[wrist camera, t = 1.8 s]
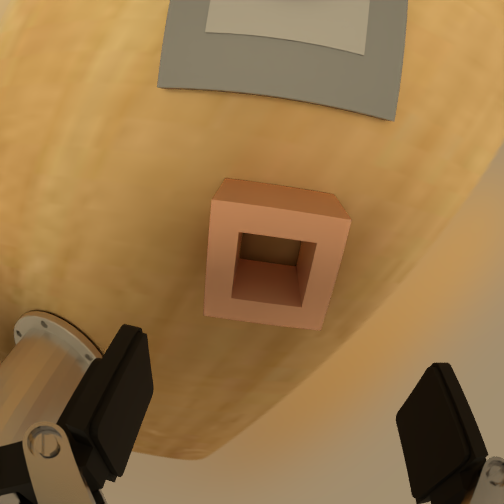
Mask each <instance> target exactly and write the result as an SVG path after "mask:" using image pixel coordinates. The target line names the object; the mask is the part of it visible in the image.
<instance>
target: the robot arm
mask: <svg viewBox="0 0 504 504" xmlns="http://www.w3.org/2000/svg"><path fill="white" fill-rule="evenodd" d="M14 339H15V343H16V346H15V347H14V348H13V350H12V351H11V352H10V353H9V354H8V356H7V357H6V358H5V359H4V361H3V362H2V363H1V365H0V504H107V502H106V499H105V497H104V495H103V493H102V491H101V489H102V488H103V486H104V483H105V480H109V481H112V482H115V480H116V477H117V476H118V477H121V476H122V475H123V473H124V470H125V467H126V465H127V462H128V459H129V456H130V453H131V451H132V448H133V445H134V443H135V440H136V437H137V435H138V432H139V429H140V426H141V424H142V421H143V418H144V416H145V413H146V411H147V408H148V405H149V403H150V400H151V398H152V394H153V380H152V372H151V365H150V357H149V348H148V339H147V334H145V333H142V329H141V328H139V327H135V326H130V325H126V324H124V325H122V326H121V328H120V329H119V331H118V333H117V334H116V336H115V338H114V339H113V341H112V343H111V344H110V346H109V348H108V349H107V351H106V353H105V354H104V356H103V357H102V355H101V354H100V352H99V351H98V350H97V349H96V347H95V346H94V345H93V344H92V343H91V342H90V341H89V340H88V339H87V338H86V337H85V336H84V335H83V334H82V333H81V332H79V331H78V330H77V329H76V328H75V327H73V326H72V325H70V324H69V323H67V322H66V321H64V320H62V319H60V318H58V317H56V316H54V315H51V314H48V313H46V312H40V311H31V312H28V313H25V314H24V315H23V316H22V317H21V318H20V319H19V320H18V321H17V323H16V324H15V327H14ZM396 424H397V427H398V432H399V436H400V440H401V444H402V449H403V453H404V457H405V462H406V467H407V471H408V477H409V482H410V487H411V492H412V495H413V497H414V498H416V503H417V504H421V503H426V502H429V501H431V504H504V459H503V458H500V457H492V458H489V459H488V460H487V461H486V458H485V457H486V456H487V455H488V452H487V450H486V447H485V444H484V441H483V439H482V436H481V433H480V431H479V429H478V426H477V423H476V421H475V418H474V416H473V414H472V411H471V409H470V406H469V404H468V402H467V400H466V397H465V395H464V393H463V391H462V388H461V386H460V384H459V382H458V380H457V378H456V376H455V373H454V371H453V369H452V367H451V365H450V364H449V363H433V364H432V365H431V366H430V367H428V368H427V369H426V371H425V373H424V374H423V376H422V377H421V379H420V380H419V382H418V384H417V385H416V387H415V388H414V390H413V391H412V393H411V394H410V396H409V397H408V399H407V400H406V401H405V403H404V404H403V406H402V407H401V408H400V410H399V411H398V413H397V415H396Z"/></svg>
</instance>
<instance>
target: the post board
mask: <svg viewBox="0 0 504 504" xmlns="http://www.w3.org/2000/svg"><path fill="white" fill-rule="evenodd" d="M407 7H408V0H170V4H169V9H168V15H167V20H166V26H165V32H164V39H163V45H162V52H161V60H160V67H159V75H158V84H157V87H158V88H164V89H190V90H208V91H221V92H233V93H243V94H252V95H260V96H268V97H275V98H282V99H288V100H295V101H301V102H306V103H312V104H317V105H322V106H327V107H332V108H337V109H342V110H346V111H351V112H355V113H359V114H363V115H367V116H371V117H375V118H379V119H383V120H387V121H394V120H395V114H396V108H397V102H398V95H399V88H400V81H401V73H402V65H403V56H404V47H405V36H406V23H407Z"/></svg>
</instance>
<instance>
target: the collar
mask: <svg viewBox="0 0 504 504" xmlns="http://www.w3.org/2000/svg"><path fill="white" fill-rule="evenodd" d="M351 221H352V220H351V218H350V217H349V215H348V214H347V213H346V211H345V210H344V208H343V207H342V205H341V204H340V202H339V201H338V199H337V198H336V197H335V195H334V194H330V193H324V192H318V191H312V190H306V189H300V188H293V187H287V186H280V185H274V184H267V183H259V182H252V181H245V180H237V179H229V178H225V180H224V181H223V183H222V184H221V186H220V187H219V189H218V190H217V192H216V194H215V195H214V197H213V198H212V201H211V213H210V225H209V238H208V251H207V265H206V280H205V297H204V316H211V317H217V318H224V319H231V320H238V321H245V322H252V323H260V324H268V325H276V326H284V327H293V328H302V329H311V330H321V328H322V325H323V322H324V318H325V315H326V312H327V309H328V305H329V302H330V299H331V295H332V292H333V289H334V285H335V282H336V278H337V274H338V271H339V267H340V264H341V260H342V256H343V252H344V249H345V245H346V241H347V237H348V233H349V229H350V225H351ZM242 233H251V234H258V235H265V236H272V237H279V238H286V239H293V240H300V241H301V246H300V251H299V256H298V260H297V265H296V266H290V265H283V264H275V263H268V262H261V261H254V260H247V259H239V257H240V249H241V241H242Z"/></svg>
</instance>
